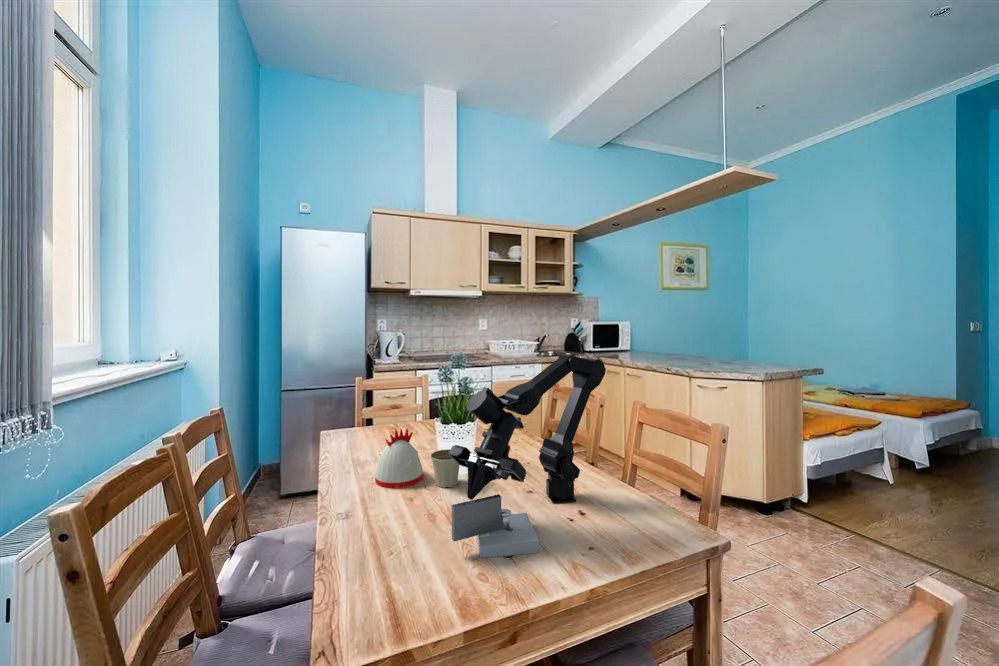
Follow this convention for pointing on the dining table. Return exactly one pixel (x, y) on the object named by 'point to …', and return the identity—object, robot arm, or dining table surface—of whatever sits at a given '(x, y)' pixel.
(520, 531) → the gray square base
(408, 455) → the grey and red dome
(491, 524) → the gray pivoting panel
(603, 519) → the dining table surface
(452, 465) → the flower pot
